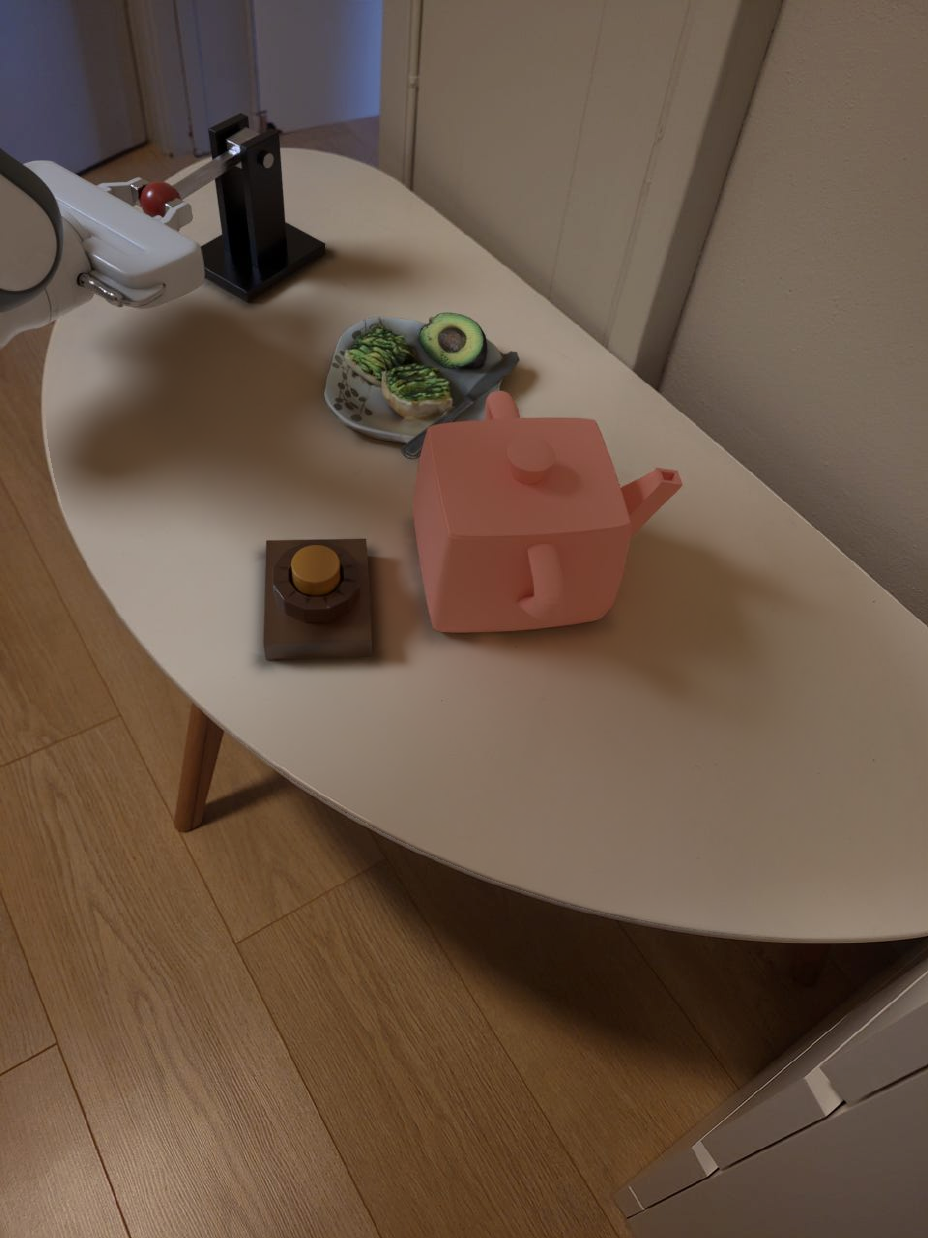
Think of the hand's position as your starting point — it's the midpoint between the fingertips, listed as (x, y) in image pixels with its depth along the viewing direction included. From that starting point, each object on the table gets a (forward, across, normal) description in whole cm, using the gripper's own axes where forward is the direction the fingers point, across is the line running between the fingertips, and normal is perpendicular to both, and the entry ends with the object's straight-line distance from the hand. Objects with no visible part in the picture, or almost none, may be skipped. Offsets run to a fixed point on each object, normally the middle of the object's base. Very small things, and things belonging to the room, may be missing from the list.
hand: (167, 197), depth 83 cm
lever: (+5, 0, +1) cm, 5 cm away
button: (-20, -35, +8) cm, 41 cm away
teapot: (-6, -47, +12) cm, 48 cm away
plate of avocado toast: (+6, -25, +11) cm, 28 cm away
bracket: (+10, 0, +11) cm, 15 cm away
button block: (-20, -35, +12) cm, 42 cm away
